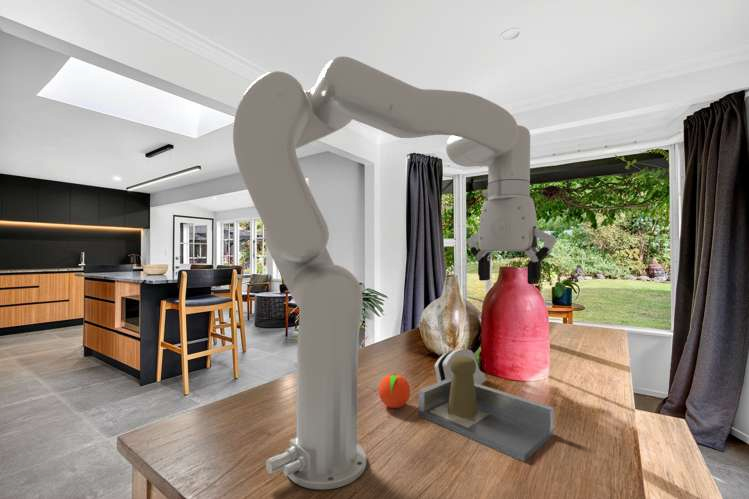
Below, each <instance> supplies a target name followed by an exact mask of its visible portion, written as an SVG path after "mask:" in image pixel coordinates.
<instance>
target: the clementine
mask: <svg viewBox="0 0 749 499" xmlns="http://www.w3.org/2000/svg"><path fill="white" fill-rule="evenodd" d="M378 395H379V398H380V400H381V402H382V403H383V404H384V405H385V406H387V407H388V408H392V409H399V408H401V407H403V406H405V405H406V404H407V403H408V401H409V399H410V396H411V386H410V383H409V382H408V380H407V379H406V378H405V377H404V376H403V375H401V374H398V373H391V374H390V373H389V374H388V375H387V376H384V378H382V380H381V382H380V384H379V387H378Z"/></svg>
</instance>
